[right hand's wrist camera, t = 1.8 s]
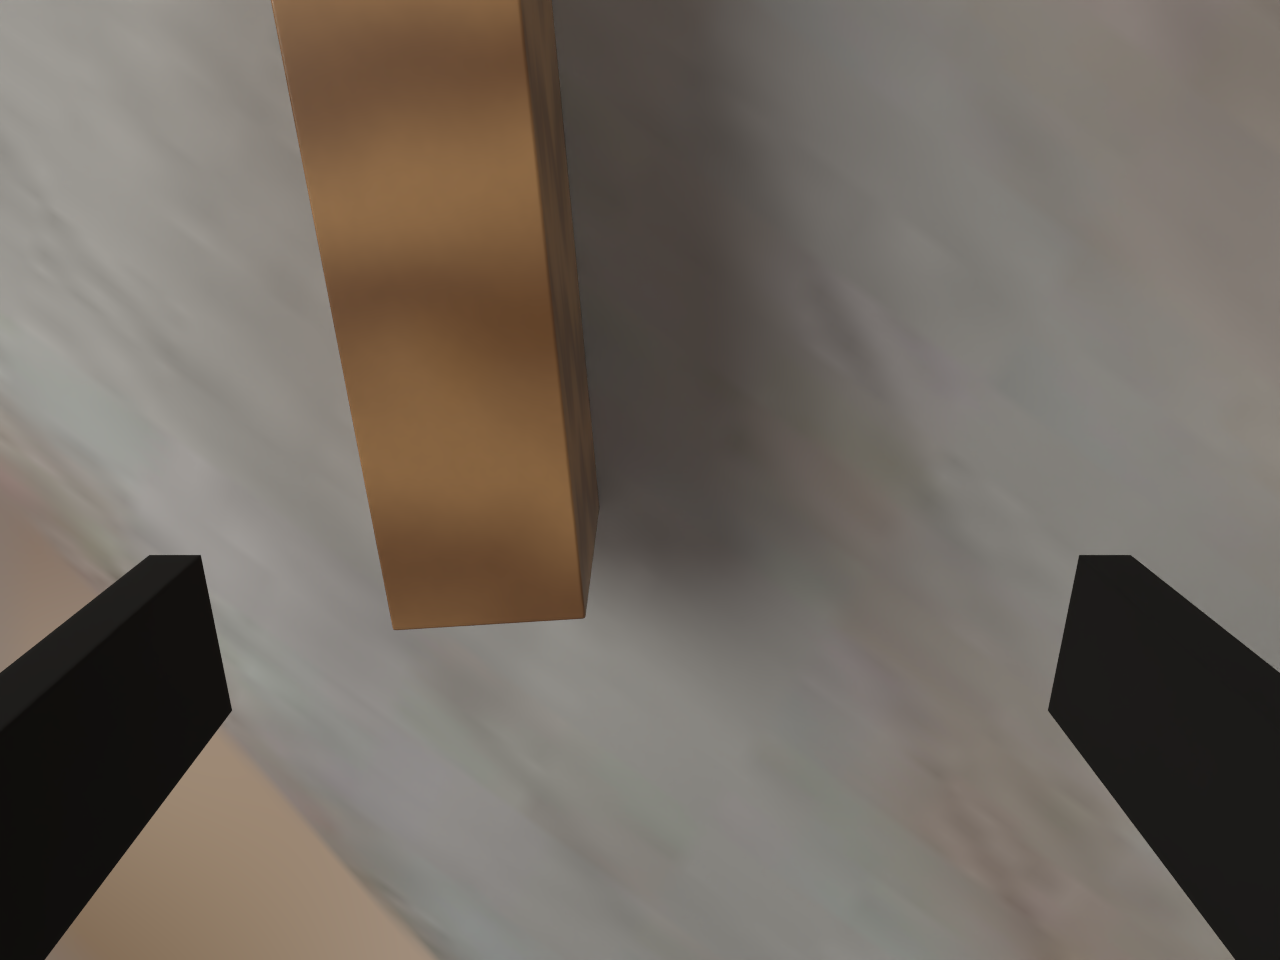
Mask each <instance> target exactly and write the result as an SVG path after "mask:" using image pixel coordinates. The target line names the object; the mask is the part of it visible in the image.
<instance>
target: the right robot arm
mask: <svg viewBox="0 0 1280 960" xmlns="http://www.w3.org/2000/svg"><path fill="white" fill-rule="evenodd" d="M231 711H232V708H231V703H230V698H229V693H228V688H227V683H226V678H225V673H224V668H223V663H222V658H221V653H220V648H219V644H218V639H217V634H216V629H215V624H214V619H213V614H212V609H211V604H210V599H209V594H208V589H207V584H206V579H205V574H204V569H203V564H202V559H201V555H149V556H148V557H147V558H145V559H144V560H143V561H141V562H140V563H139V564H138V565H136V566H135V567H134V568H133V569H131V570H130V571H129V572H128V573H126V574H125V575H124V576H122V577H121V578H120V579H119V580H117V581H116V582H115V583H114V584H112V585H111V586H110V587H109V588H107V589H106V590H105V591H103V592H102V593H101V594H100V595H98V596H97V597H96V598H95V599H93V600H92V601H91V602H90V603H88V604H87V605H86V606H84V607H83V608H82V609H81V610H79V611H78V612H77V613H76V614H74V615H73V616H72V617H71V618H69V619H68V620H67V621H66V622H64V623H63V624H62V625H60V626H59V627H58V628H57V629H55V630H54V631H53V632H52V633H50V634H49V635H48V636H47V637H45V638H44V639H43V640H41V641H40V642H39V643H38V644H36V645H35V646H34V647H33V648H31V649H30V650H29V651H27V652H26V653H25V654H24V655H22V656H21V657H20V658H19V659H17V660H16V661H15V662H14V663H12V664H11V665H10V666H8V667H7V668H6V669H5V670H3V671H2V672H1V673H0V960H45V959H46V957H47V956H48V954H49V953H50V952H51V950H52V949H53V948H54V947H55V945H56V944H57V943H58V941H59V940H60V939H61V937H62V936H63V935H64V933H65V932H66V931H67V929H68V928H69V926H70V925H71V924H72V923H73V921H74V920H75V919H76V917H77V916H78V915H79V913H80V912H81V911H82V909H83V908H84V907H85V905H86V904H87V903H88V901H89V900H90V899H91V897H92V896H93V895H94V893H95V892H96V891H97V889H98V888H99V887H100V885H101V884H102V883H103V881H104V880H105V879H106V877H107V876H108V875H109V873H110V872H111V871H112V869H113V868H114V867H115V865H116V864H117V863H118V861H119V860H120V859H121V857H122V856H123V855H124V853H125V852H126V851H127V849H128V848H129V847H130V845H131V844H132V843H133V841H134V840H135V839H136V838H137V836H138V835H139V834H140V832H141V831H142V830H143V828H144V827H145V825H146V824H147V823H148V822H149V820H150V819H151V817H152V816H153V815H154V814H155V812H156V811H157V810H158V808H159V807H160V806H161V804H162V803H163V802H164V800H165V799H166V798H167V796H168V795H169V794H170V792H171V791H172V790H173V788H174V787H175V786H176V784H177V783H178V782H179V780H180V779H181V778H182V776H183V775H184V774H185V772H186V771H187V770H188V768H189V767H190V766H191V764H192V763H193V762H194V760H195V759H196V758H197V756H198V755H199V754H200V752H201V751H202V750H203V748H204V747H205V746H206V744H207V743H208V742H209V740H210V739H211V738H212V736H213V735H214V734H215V732H216V731H217V730H218V728H219V727H220V726H221V724H222V723H223V722H224V720H225V719H226V718H227V716H228V715H229V714H230V712H231ZM1048 711H1049V713H1050V714H1051V715H1052V716H1053V718H1054V719H1055V720H1056V722H1057V723H1058V724H1059V726H1060V727H1061V728H1062V730H1063V731H1064V732H1065V734H1066V735H1067V736H1068V738H1069V739H1070V740H1071V742H1072V743H1073V744H1074V746H1075V747H1076V748H1077V750H1078V751H1079V752H1080V754H1081V755H1082V756H1083V758H1084V759H1085V760H1086V762H1087V763H1088V764H1089V766H1090V767H1091V768H1092V770H1093V771H1094V772H1095V774H1096V775H1097V776H1098V778H1099V779H1100V780H1101V782H1102V783H1103V784H1104V786H1105V787H1106V788H1107V790H1108V791H1109V792H1110V794H1111V795H1112V796H1113V798H1114V799H1115V800H1116V802H1117V803H1118V804H1119V806H1120V807H1121V808H1122V810H1123V811H1124V812H1125V814H1126V815H1127V816H1128V818H1129V819H1130V820H1131V822H1132V823H1133V824H1134V826H1135V827H1136V828H1137V830H1138V831H1139V832H1140V834H1141V835H1142V836H1143V838H1144V839H1145V840H1146V841H1147V843H1148V844H1149V845H1150V847H1151V848H1152V849H1153V851H1154V852H1155V853H1156V855H1157V856H1158V857H1159V859H1160V860H1161V861H1162V863H1163V864H1164V865H1165V867H1166V868H1167V869H1168V871H1169V872H1170V873H1171V875H1172V876H1173V877H1174V879H1175V880H1176V881H1177V883H1178V884H1179V885H1180V887H1181V888H1182V889H1183V891H1184V892H1185V893H1186V895H1187V896H1188V897H1189V899H1190V900H1191V901H1192V903H1193V904H1194V905H1195V907H1196V908H1197V909H1198V911H1199V912H1200V913H1201V915H1202V916H1203V917H1204V919H1205V920H1206V921H1207V923H1208V924H1209V925H1210V927H1211V928H1212V929H1213V931H1214V932H1215V933H1216V935H1217V936H1218V937H1219V939H1220V940H1221V941H1222V943H1223V944H1224V945H1225V947H1226V948H1227V949H1228V951H1229V952H1230V953H1231V955H1232V956H1233V957H1234V959H1235V960H1280V673H1279V672H1278V671H1277V670H1275V669H1274V668H1273V667H1272V666H1270V665H1269V664H1268V663H1266V662H1265V661H1264V660H1263V659H1261V658H1260V657H1259V656H1258V655H1256V654H1255V653H1254V652H1253V651H1251V650H1250V649H1249V648H1247V647H1246V646H1245V645H1244V644H1242V643H1241V642H1240V641H1239V640H1237V639H1236V638H1235V637H1234V636H1232V635H1231V634H1230V633H1228V632H1227V631H1226V630H1225V629H1223V628H1222V627H1221V626H1220V625H1218V624H1217V623H1216V622H1215V621H1213V620H1212V619H1211V618H1209V617H1208V616H1207V615H1206V614H1204V613H1203V612H1202V611H1201V610H1199V609H1198V608H1197V607H1196V606H1194V605H1193V604H1192V603H1190V602H1189V601H1188V600H1187V599H1185V598H1184V597H1183V596H1182V595H1180V594H1179V593H1178V592H1177V591H1175V590H1174V589H1173V588H1171V587H1170V586H1169V585H1168V584H1166V583H1165V582H1164V581H1163V580H1161V579H1160V578H1159V577H1158V576H1156V575H1155V574H1154V573H1152V572H1151V571H1150V570H1149V569H1147V568H1146V567H1145V566H1144V565H1142V564H1141V563H1140V562H1139V561H1137V560H1136V559H1135V558H1133V557H1132V556H1131V555H1079V559H1078V564H1077V569H1076V574H1075V579H1074V584H1073V589H1072V594H1071V599H1070V604H1069V609H1068V614H1067V619H1066V624H1065V629H1064V634H1063V639H1062V644H1061V648H1060V653H1059V658H1058V663H1057V668H1056V673H1055V678H1054V683H1053V688H1052V693H1051V698H1050V703H1049V708H1048Z"/></svg>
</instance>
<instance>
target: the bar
mask: <svg viewBox="0 0 1280 960" xmlns="http://www.w3.org/2000/svg"><path fill="white" fill-rule="evenodd" d="M271 3H272V8H273V13H274V18H275V24H276V29H277V34H278V39H279V44H280V49H281V54H282V60H283V65H284V70H285V75H286V80H287V85H288V90H289V96H290V101H291V106H292V111H293V116H294V121H295V126H296V132H297V137H298V142H299V147H300V152H301V157H302V163H303V168H304V173H305V178H306V183H307V188H308V193H309V199H310V204H311V209H312V214H313V219H314V224H315V229H316V235H317V240H318V245H319V250H320V255H321V260H322V266H323V271H324V276H325V281H326V286H327V291H328V296H329V302H330V307H331V312H332V317H333V322H334V327H335V332H336V338H337V343H338V348H339V353H340V358H341V363H342V369H343V374H344V379H345V384H346V389H347V394H348V399H349V405H350V410H351V415H352V420H353V425H354V430H355V435H356V441H357V446H358V451H359V456H360V461H361V466H362V472H363V477H364V482H365V487H366V492H367V497H368V502H369V508H370V513H371V518H372V523H373V528H374V533H375V538H376V544H377V549H378V554H379V559H380V564H381V569H382V575H383V580H384V585H385V590H386V595H387V600H388V605H389V611H390V616H391V621H392V626H393V629H394V630H406V629H422V628H438V627H454V626H470V625H486V624H503V623H519V622H535V621H551V620H567V619H583V618H585V615H586V608H587V600H588V592H589V584H590V577H591V569H592V561H593V553H594V545H595V538H596V530H597V522H598V514H599V498H598V487H597V477H596V466H595V455H594V445H593V434H592V423H591V413H590V402H589V391H588V381H587V370H586V360H585V349H584V338H583V328H582V317H581V306H580V296H579V285H578V274H577V264H576V253H575V243H574V232H573V221H572V211H571V200H570V189H569V179H568V168H567V157H566V147H565V136H564V126H563V115H562V104H561V94H560V83H559V72H558V62H557V51H556V40H555V30H554V19H553V9H552V0H271Z"/></svg>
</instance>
